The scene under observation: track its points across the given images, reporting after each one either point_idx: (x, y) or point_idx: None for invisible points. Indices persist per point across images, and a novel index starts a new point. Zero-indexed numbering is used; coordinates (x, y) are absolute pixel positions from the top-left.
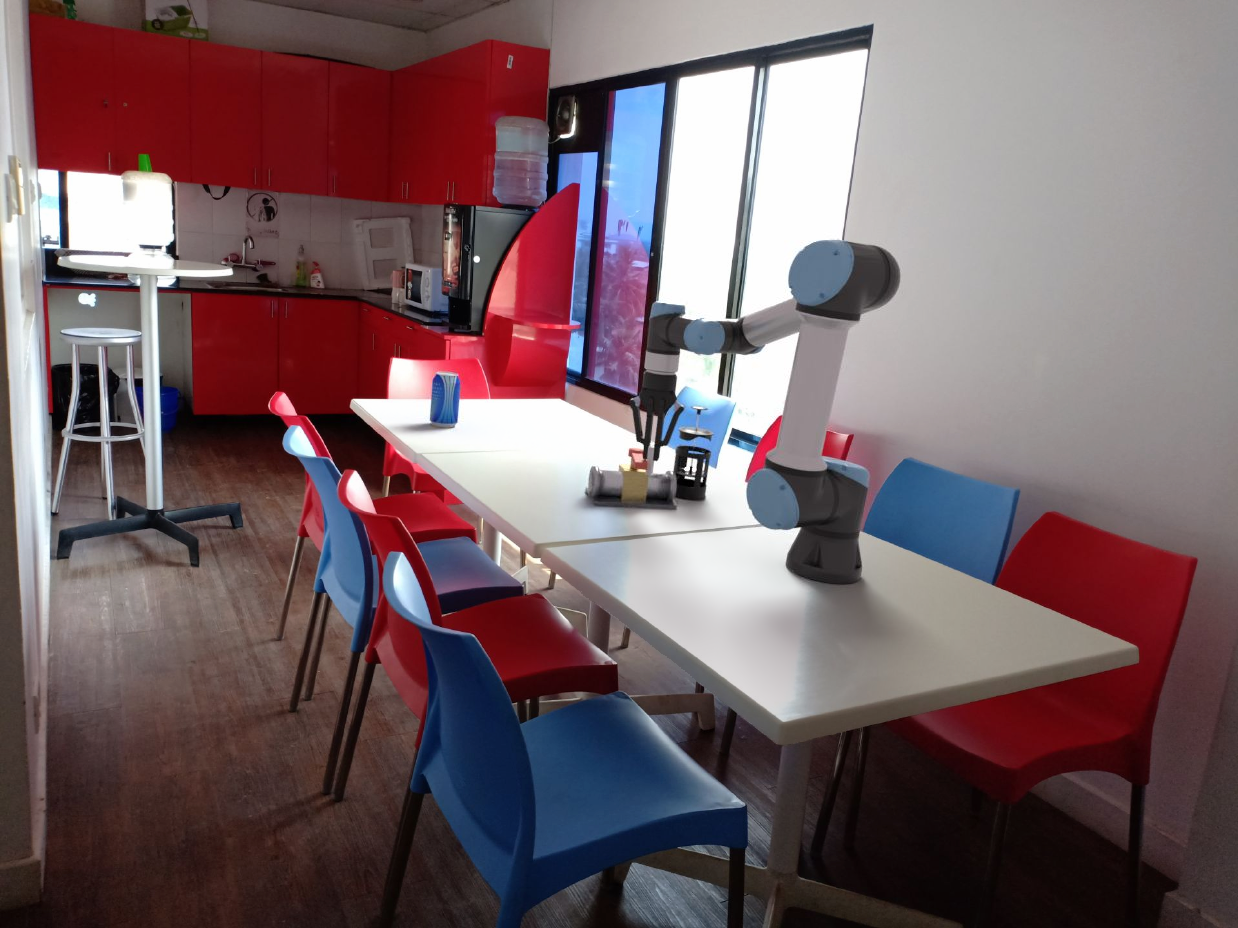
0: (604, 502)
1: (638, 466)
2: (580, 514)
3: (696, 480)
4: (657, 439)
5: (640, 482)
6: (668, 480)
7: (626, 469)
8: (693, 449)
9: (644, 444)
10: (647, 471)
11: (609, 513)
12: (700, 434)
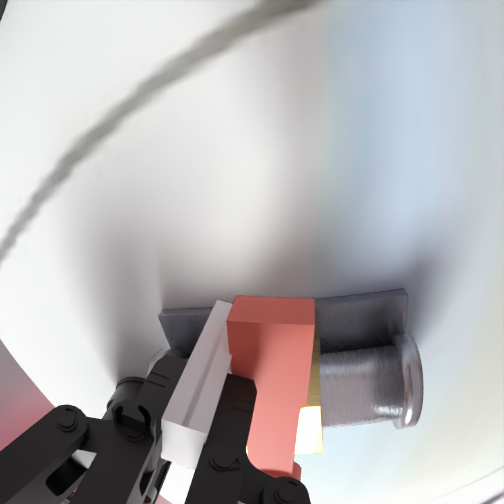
0: (378, 298)
1: (290, 308)
2: (461, 185)
3: None
4: (116, 469)
5: None
6: None
7: (309, 420)
8: None
9: (239, 457)
10: None
11: (373, 219)
12: (69, 501)
